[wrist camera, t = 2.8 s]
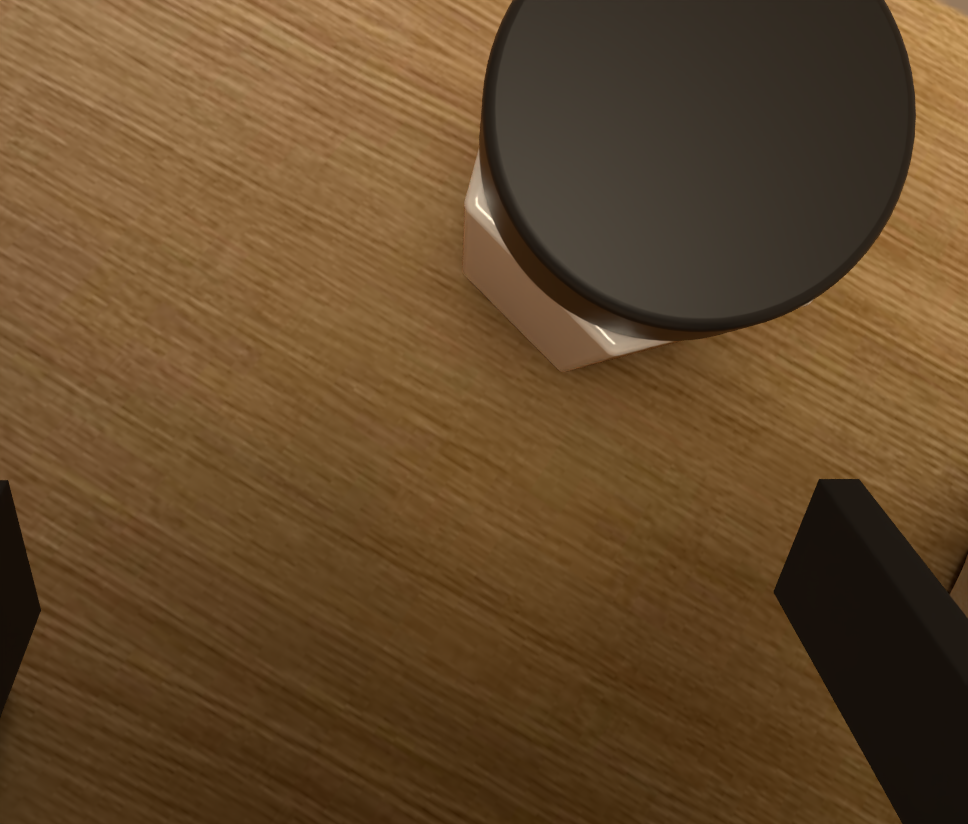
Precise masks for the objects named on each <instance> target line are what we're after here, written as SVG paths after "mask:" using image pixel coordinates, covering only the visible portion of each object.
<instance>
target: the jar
mask: <svg viewBox="0 0 968 824" xmlns="http://www.w3.org/2000/svg"><path fill="white" fill-rule="evenodd" d="M915 120H916V110H915V92H914V85H913V77H912V71H911V67H910V63H909V59H908V55H907V51H906V48H905V45H904V42H903V39H902V37H901V34H900V31H899V29H898V27H897V24H896V22H895V20H894V18H893V16H892V13H891V11H890V10H889V8H888V6H887V4H886V3H885V1H884V0H513V1H512V3H511V4H510V6H509V8H508V10H507V12H506V14H505V16H504V18H503V20H502V22H501V24H500V27H499V29H498V32H497V34H496V36H495V40H494V43H493V46H492V49H491V52H490V56H489V60H488V64H487V69H486V74H485V80H484V88H483V98H482V111H481V123H480V135H479V150H478V153H477V157H476V161H475V165H474V168H473V172H472V176H471V179H470V183H469V187H468V191H467V194H466V198H465V206H464V233H463V261H462V271H463V274H464V275H465V276H466V277H467V278H468V279H469V280H470V281H471V282H472V283H473V284H474V285H475V286H476V287H477V288H478V289H479V290H480V291H481V292H482V293H483V294H484V295H485V296H486V297H487V298H488V299H489V300H490V301H491V302H492V303H493V304H494V305H495V306H496V307H497V308H498V309H499V310H500V311H501V312H502V313H503V314H504V315H505V316H506V317H507V318H508V319H509V320H510V321H511V322H512V324H513V325H514V326H515V327H516V328H517V329H518V330H519V331H520V332H521V333H522V334H523V335H524V336H525V337H526V338H527V339H528V340H529V341H530V342H531V343H532V344H533V345H534V346H535V347H536V348H537V349H538V350H539V351H540V352H541V353H542V354H543V355H544V356H545V357H546V358H547V359H548V360H549V361H550V362H551V363H552V364H553V365H554V366H555V367H556V368H557V369H558V370H560V371H562V372H568V371H571V370H575V369H579V368H583V367H586V366H590V365H594V364H598V363H601V362H605V361H609V360H613V359H617V358H620V357H624V356H628V355H632V354H635V353H639V352H643V351H647V350H650V349H654V348H658V347H662V346H665V345H669V344H673V343H677V342H680V341H684V340H694V339H702V338H707V337H711V336H716V335H720V334H723V333H727V332H731V331H735V330H738V329H742V328H746V327H749V326H753V325H757V324H760V323H764V322H767V321H770V320H772V319H775V318H778V317H780V316H783V315H785V314H787V313H789V312H792V311H794V310H796V309H798V308H801V307H804V306H807V305H808V304H810V303H811V302H812V301H813V299H815V298H816V297H818V296H820V295H821V294H822V293H824V292H825V291H826V290H828V289H829V288H830V287H832V286H833V285H834V284H836V283H837V282H838V281H839V280H840V279H841V278H842V277H844V276H845V275H846V274H847V273H848V272H849V271H850V270H851V269H852V268H853V267H854V266H855V265H856V264H857V263H858V261H859V260H860V259H861V258H862V257H863V256H864V255H865V254H866V253H867V251H868V250H869V249H870V247H871V246H872V245H873V243H874V242H875V240H876V239H877V238H878V236H879V235H880V233H881V232H882V230H883V228H884V227H885V225H886V223H887V222H888V220H889V218H890V216H891V214H892V212H893V210H894V208H895V206H896V204H897V202H898V199H899V197H900V194H901V191H902V189H903V186H904V183H905V180H906V177H907V173H908V169H909V165H910V161H911V157H912V150H913V144H914V137H915Z"/></svg>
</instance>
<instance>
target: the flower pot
mask: <svg viewBox="0 0 968 824" xmlns="http://www.w3.org/2000/svg"><path fill="white" fill-rule="evenodd" d="M950 596H951V597H952V599H953V600H954V601H955V602H956V604H957V605H958V606H959V608H960V609H961V610H962V611H963V613H964V614H965V615H966V617H967V618H968V555H967V558H966V561H965V564H964V566H963V568H962V571H961V573H960V575H959V577H958V579H957V581H956V583H955V585H954V587H953V589H952V591H951V593H950Z"/></svg>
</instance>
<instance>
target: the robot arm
mask: <svg viewBox="0 0 968 824" xmlns="http://www.w3.org/2000/svg"><path fill="white" fill-rule="evenodd" d="M774 594H775V596H776V597H777V599H778V601H779V603H780V605H781V606H782V608H783V610H784V612H785V614H786V615H787V617H788V619H789V621H790V623H791V624H792V626H793V628H794V630H795V632H796V633H797V635H798V637H799V639H800V641H801V642H802V644H803V646H804V648H805V649H806V651H807V653H808V655H809V657H810V658H811V660H812V662H813V664H814V666H815V667H816V669H817V671H818V673H819V675H820V676H821V678H822V680H823V682H824V684H825V685H826V687H827V689H828V691H829V693H830V694H831V696H832V698H833V700H834V702H835V703H836V705H837V707H838V709H839V711H840V712H841V714H842V716H843V718H844V719H845V721H846V723H847V725H848V727H849V728H850V730H851V732H852V734H853V736H854V737H855V739H856V741H857V743H858V745H859V746H860V748H861V750H862V752H863V754H864V755H865V757H866V759H867V761H868V763H869V764H870V766H871V768H872V770H873V772H874V773H875V775H876V777H877V779H878V781H879V782H880V784H881V786H882V788H883V789H884V791H885V793H886V795H887V797H888V798H889V800H890V802H891V804H892V806H893V807H894V809H895V811H896V813H897V815H898V816H899V818H900V820H901V822H902V824H968V618H967V617H966V615H965V614H964V613H963V611H962V610H961V609H960V608H959V606H958V605H957V604H956V602H955V601H954V600H953V599H952V597H951V596H950V595H949V594H948V592H947V591H946V590H945V588H944V587H943V586H942V585H941V583H940V582H939V581H938V579H937V578H936V577H935V576H934V574H933V573H932V572H931V570H930V569H929V568H928V567H927V565H926V564H925V563H924V562H923V560H922V559H921V558H920V556H919V555H918V554H917V553H916V551H915V550H914V549H913V547H912V546H911V545H910V544H909V542H908V541H907V540H906V539H905V537H904V536H903V535H902V533H901V532H900V531H899V530H898V528H897V527H896V526H895V524H894V523H893V522H892V521H891V519H890V518H889V517H888V516H887V514H886V513H885V512H884V510H883V509H882V508H881V507H880V505H879V504H878V503H877V501H876V500H875V499H874V498H873V496H872V495H871V494H870V492H869V491H868V490H867V489H866V487H865V486H864V485H863V484H862V482H861V481H860V480H859V479H819V481H818V483H817V486H816V488H815V491H814V493H813V495H812V498H811V500H810V503H809V505H808V508H807V510H806V513H805V515H804V518H803V520H802V523H801V525H800V528H799V530H798V532H797V535H796V537H795V540H794V542H793V545H792V547H791V550H790V552H789V555H788V557H787V560H786V562H785V564H784V567H783V569H782V572H781V574H780V577H779V579H778V582H777V584H776V587H775V589H774ZM40 612H41V608H40V604H39V600H38V596H37V592H36V588H35V585H34V581H33V577H32V573H31V569H30V565H29V561H28V557H27V553H26V549H25V545H24V541H23V537H22V533H21V529H20V525H19V522H18V518H17V514H16V510H15V506H14V502H13V498H12V494H11V490H10V486H9V482H8V480H0V716H1V714H2V711H3V709H4V706H5V703H6V701H7V698H8V695H9V693H10V690H11V688H12V685H13V682H14V680H15V677H16V675H17V672H18V669H19V667H20V664H21V661H22V659H23V656H24V654H25V651H26V648H27V646H28V643H29V640H30V638H31V635H32V633H33V630H34V627H35V625H36V622H37V619H38V617H39V614H40Z"/></svg>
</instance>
